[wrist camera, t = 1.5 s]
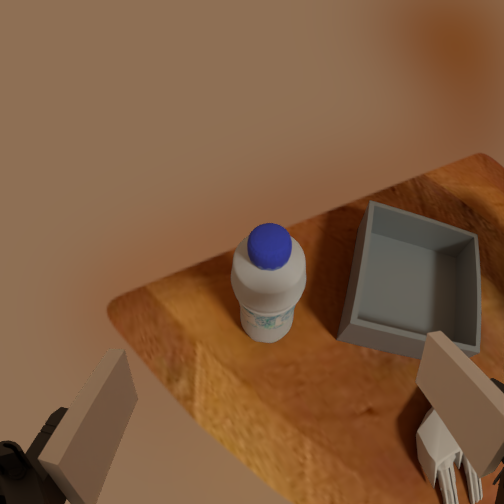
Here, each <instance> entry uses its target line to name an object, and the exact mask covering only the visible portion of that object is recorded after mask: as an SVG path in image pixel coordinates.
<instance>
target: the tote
mask: <svg viewBox="0 0 504 504" xmlns="http://www.w3.org/2000/svg"><path fill="white" fill-rule="evenodd" d="M436 331H442V332H443V333H444V334H445V335H446V336H447V337H448V338H449V339H450V340H451V341H452V342H453V343H454V344H455V345H456V346H457V347H458V348H459V349H460V350H461V351H462V352H463V353H464V354H465V355H466V356H467V357H468V358H469V357H472V356H474V355H476V354H478V353H480V336H481V275H480V258H479V246H478V235H477V234H474V233H471V232H469V231H466V230H463V229H460V228H457V227H454V226H451V225H448V224H445V223H442V222H439V221H436V220H433V219H430V218H427V217H424V216H421V215H418V214H415V213H411V212H408V211H405V210H402V209H398V208H395V207H391V206H388V205H385V204H381V203H378V202H374V201H371V200H370V201H369V204H368V206H367V209H366V211H365V213H364V216H363V218H362V221H361V223H360V225H359V228H358V232H357V238H356V244H355V250H354V256H353V261H352V267H351V272H350V278H349V283H348V288H347V293H346V298H345V303H344V307H343V312H342V317H341V321H340V326H339V330H338V334H337V339H336V340H339V341H343V342H347V343H351V344H355V345H359V346H363V347H367V348H372V349H376V350H380V351H385V352H389V353H394V354H398V355H403V356H407V357H412V358H417V359H422V354H423V350H424V346H425V341H426V337H427V333H430V332H436Z"/></svg>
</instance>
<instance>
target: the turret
mask: <svg viewBox="0 0 504 504" xmlns="http://www.w3.org/2000/svg"><path fill="white" fill-rule="evenodd" d="M416 442H417V454H418V460H419V462H420V464H421V466H422V467H423V469H424V471H425V473H426V475H427V477H428V479H429V481H430V483H431V485H432V487H433V489H434V485H435V480H436V478H437V479H438V480H439V485H440V490H441V491H442V497H443V503H444V504H458V497H457V490H456V484H455V482H456V479H455V473H454V467H453V461H454V462H455V463H456V465H457V467H458V469H459V467H460V463H461V462H462V463H463V465H464V471H465V474H466V477H467V484H468V491H469V499H470V503H471V504H474V503H475V502H478V501H479V500H480V499H481V500H482V497H483V495H482V485H481V478H480V479H479V477H478V475H477V474H476V472H475V471H474V469H473V467H472V466H471V464H470V463H469V461H468V459H467V458H466V456H465V455H464V453H463V452H462V450H461V448H460V447H459V445H458V444H457V442H456V441H455V439H454V438H453V436H452V435H451V433H450V432H449V430H448V429H447V427H446V426H445V424H444V423H443V421H442V420H441V418H440V417H439V415H438V414H437V412H436V411H435V409H434V408H433V406H432V407H431V408H430V410H429V411H428V412H427V413H426V415H425V417H424V419H423V421H422V423H421V425H420V427H419V429H418V430H417V433H416Z"/></svg>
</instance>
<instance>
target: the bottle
mask: <svg viewBox="0 0 504 504" xmlns="http://www.w3.org/2000/svg"><path fill="white" fill-rule="evenodd" d="M231 284H232V288H233V290H234V293H235V296H236V298H237V299H238V301H239V304H240V319H241V324H242V327H243V329H244V330H245V332H246V333H247V334H248V335H249V336H250V337H251V338H252V339H253V340H255V341H259V342H267V343H273V342H276V341H277V340H279V339H281V338H282V337H283V336H284V335H286V334H287V333H288V331H289V330H290V328H291V325H292V321H293V314H294V308H295V304H296V303H297V302H298V301H299V299H300V297H301V295H302V293H303V291H304V288H305V284H306V263H305V255H304V252H303V250H302V248H301V246H300V245H299V244H298V242H297V241H296V240H295V239H294V238H292V237H291V236H290V235H289V233H288V232H287V230H286V229H284V228H283V227H282V226H280V225H277V224H273V223H266V224H262V225H259V226H257V227H256V228H255V229H254V230H253V231H252V232H251V233H250V235H249V236H248V237H246V238H244V239H243V241H242V242H240V244H239V245H238V247H237V248H236V250H235V253H234V257H233V265H232V271H231Z"/></svg>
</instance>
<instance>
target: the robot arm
mask: <svg viewBox="0 0 504 504" xmlns="http://www.w3.org/2000/svg"><path fill="white" fill-rule="evenodd" d="M416 383H417V385H418V386H419V388H420V389H421V391H422V392H423V393H424V395H425V396H426V398H427V399H428V401H429V402H430V403H431V405H432V406H433V408H434V409H435V411H436V412H437V414H438V415H439V417H440V418H441V420H442V421H443V423H444V424H445V426H446V427H447V429H448V430H449V432H450V433H451V435H452V436H453V438H454V439H455V441H456V442H457V444H458V445H459V447H460V448H461V450H462V452H463V453H464V455H465V456H466V458H467V459H468V461H469V463H470V464H471V466H472V467H473V469H474V471H475V472H476V474H477V475H478V477H479V479H480V478H482V477H484V476H486V475H488V474H490V473H492V472H494V471H495V469H496V468H497V467H498V465H499V464H500V462H501V461H502V462H503V464H504V384H503V383H501V382H499V381H497V380H496V379H494V378H491V379H489V378H488V377H487V376H486V375H485V374H484V373H483V372H482V371H481V370H480V369H479V368H478V367H477V366H476V365H475V364H474V363H473V362H472V361H471V360H470V359H469V358H468V357H467V356H466V355H465V354H464V353H463V352H462V351H461V350H460V349H459V348H458V347H457V346H456V345H455V344H454V343H453V342H452V341H451V340H450V339H449V338H448V337H447V336H446V335H445V334H444V333H443V332H442V331H436V332H430V333H427V337H426V341H425V346H424V350H423V354H422V359H421V363H420V367H419V370H418V374H417V378H416ZM137 400H138V397H137V394H136V390H135V387H134V383H133V380H132V376H131V372H130V368H129V364H128V361H127V357H126V353H125V350H124V349H108V351H107V352H106V354H105V355H104V356H103V358H102V359H101V361H100V362H99V364H98V365H97V367H96V368H95V370H94V371H93V373H92V374H91V376H90V377H89V379H88V380H87V382H86V383H85V385H84V386H83V387H82V389H81V391H80V392H79V394H78V395H77V397H76V398H75V400H74V401H73V403H72V404H71V406H70V407H69V408H63V407H60V408H59V409H58V410H56V411H55V412H54V413H52V414H51V416H50V417H49V418H48V420H47V422H46V423H45V425H44V426H43V427H42V429H41V432H40V433H38V435H37V436H36V438H35V440H34V441H33V443H32V444H31V446H30V447H29V449H28V450H27V452H26V454H25V453H24V452H23V450H22V449H21V447H20V446H19V445H18V444H17V443H16V442H12V441H2V442H0V504H64V503H65V501H66V499H67V500H68V501H69V502H70V503H71V504H96V503H97V500H98V497H99V495H100V492H101V489H102V487H103V484H104V481H105V479H106V476H107V474H108V471H109V469H110V466H111V464H112V461H113V458H114V456H115V453H116V451H117V448H118V446H119V443H120V441H121V438H122V436H123V434H124V431H125V428H126V426H127V424H128V422H129V419H130V417H131V414H132V412H133V409H134V407H135V405H136V403H137ZM499 479H500V482H499V484H498V485H499V487H498V492H497V496H496V501H495V504H504V467H503V469H502V470H501V472H500V473H499V474H498V476H497V477H496V479H495V480H494V482H493V485H495V484H496V482H497V481H498V480H499Z"/></svg>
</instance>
